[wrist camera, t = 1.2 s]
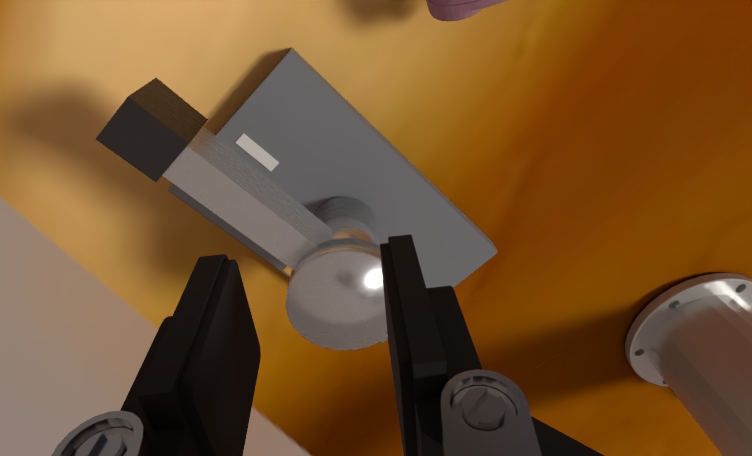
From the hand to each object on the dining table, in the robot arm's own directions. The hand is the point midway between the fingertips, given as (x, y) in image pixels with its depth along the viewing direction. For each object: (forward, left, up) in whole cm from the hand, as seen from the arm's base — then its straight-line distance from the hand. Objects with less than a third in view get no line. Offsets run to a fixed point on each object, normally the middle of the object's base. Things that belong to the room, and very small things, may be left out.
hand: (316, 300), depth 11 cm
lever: (-1, +6, -19) cm, 20 cm away
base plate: (-7, +6, -21) cm, 23 cm away
